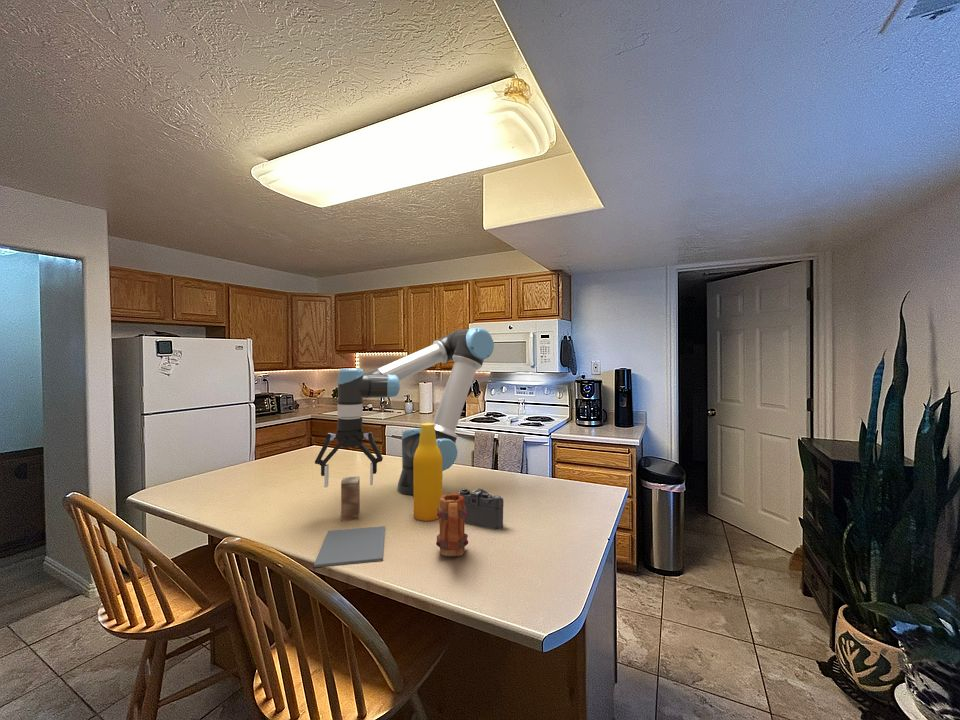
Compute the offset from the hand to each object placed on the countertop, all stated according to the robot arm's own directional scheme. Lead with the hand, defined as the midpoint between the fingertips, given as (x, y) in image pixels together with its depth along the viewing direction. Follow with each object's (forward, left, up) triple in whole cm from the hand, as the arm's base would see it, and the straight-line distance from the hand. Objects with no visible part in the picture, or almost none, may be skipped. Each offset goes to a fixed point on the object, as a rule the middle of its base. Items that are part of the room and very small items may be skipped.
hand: (349, 485), depth 128 cm
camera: (-41, +11, -10) cm, 44 cm away
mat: (-3, +21, -10) cm, 23 cm away
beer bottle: (-24, +4, -10) cm, 27 cm away
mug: (-28, +33, -10) cm, 45 cm away
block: (0, 0, -10) cm, 10 cm away
